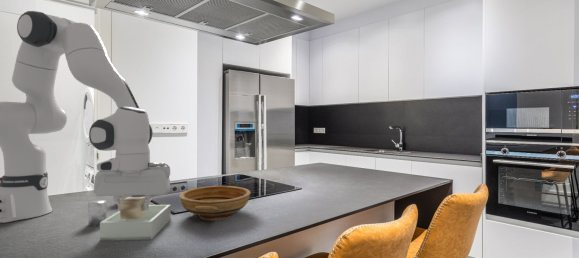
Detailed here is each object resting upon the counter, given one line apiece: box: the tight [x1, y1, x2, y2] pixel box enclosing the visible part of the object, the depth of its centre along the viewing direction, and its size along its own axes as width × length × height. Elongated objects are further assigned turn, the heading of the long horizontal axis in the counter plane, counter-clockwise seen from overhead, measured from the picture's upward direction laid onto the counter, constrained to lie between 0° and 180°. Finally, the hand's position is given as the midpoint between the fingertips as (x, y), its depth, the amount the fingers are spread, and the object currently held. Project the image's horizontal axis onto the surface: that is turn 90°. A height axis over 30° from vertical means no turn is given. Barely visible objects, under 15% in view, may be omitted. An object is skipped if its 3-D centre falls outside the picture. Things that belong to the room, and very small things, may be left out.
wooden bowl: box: [178, 185, 252, 221], centre depth 108 cm, size 30×24×8 cm
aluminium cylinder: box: [87, 199, 108, 227], centre depth 98 cm, size 5×5×7 cm
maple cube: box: [120, 197, 147, 219], centre depth 89 cm, size 5×5×5 cm
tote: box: [99, 204, 172, 242], centre depth 93 cm, size 18×14×5 cm
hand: (133, 210), depth 89 cm, fingers closed on maple cube, 5 cm apart
